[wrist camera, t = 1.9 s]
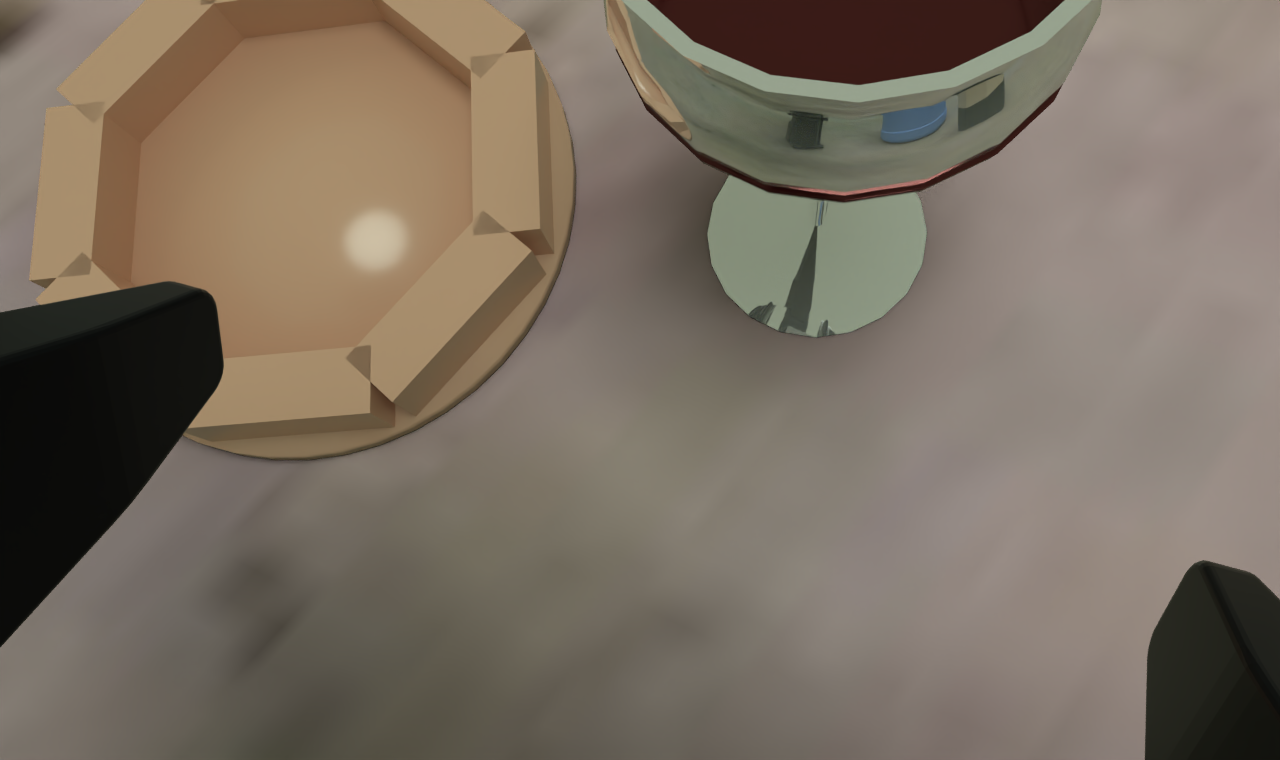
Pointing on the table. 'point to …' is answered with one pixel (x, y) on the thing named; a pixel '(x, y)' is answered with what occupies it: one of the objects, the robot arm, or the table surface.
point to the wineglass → (839, 128)
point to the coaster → (317, 202)
